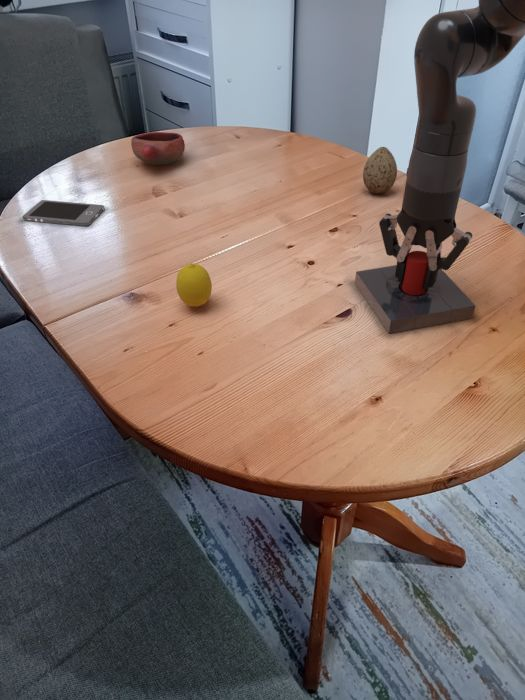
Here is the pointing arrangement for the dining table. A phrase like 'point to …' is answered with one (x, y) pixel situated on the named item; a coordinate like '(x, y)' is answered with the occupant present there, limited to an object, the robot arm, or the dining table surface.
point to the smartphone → (64, 212)
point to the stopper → (415, 273)
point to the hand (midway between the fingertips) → (414, 282)
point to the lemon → (193, 285)
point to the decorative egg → (380, 171)
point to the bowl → (158, 147)
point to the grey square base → (412, 300)
